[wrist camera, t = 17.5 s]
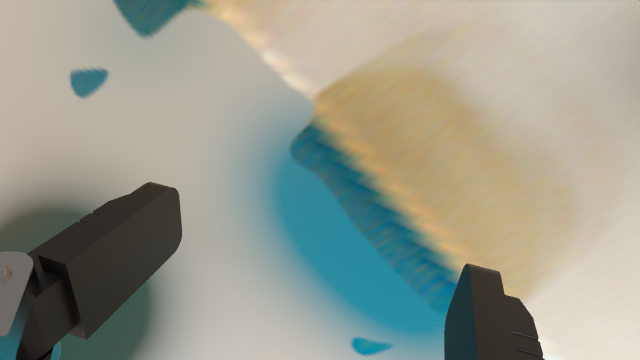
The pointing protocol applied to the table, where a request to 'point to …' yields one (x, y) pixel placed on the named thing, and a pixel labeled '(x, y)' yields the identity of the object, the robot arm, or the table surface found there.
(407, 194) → the table surface
